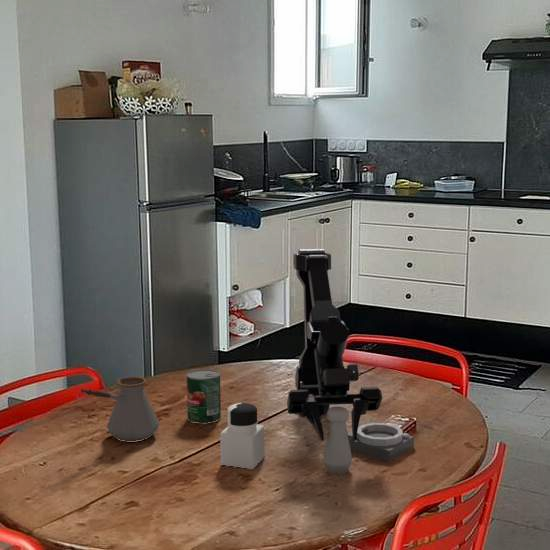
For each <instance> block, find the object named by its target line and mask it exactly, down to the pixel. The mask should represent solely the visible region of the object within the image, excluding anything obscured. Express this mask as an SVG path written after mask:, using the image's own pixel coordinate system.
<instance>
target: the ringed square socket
mask: <svg viewBox="0 0 550 550" xmlns="http://www.w3.org/2000/svg"><path fill="white" fill-rule="evenodd" d="M347 434H348V439H349V445H350V450H351V453H355V454H358V455H363V456H366V457H369V458H372V459H377V460H380V461H383V462H387V463H391V462H392V461H394V460H395V459H397V458H400V457H401V456H403V455H405V454H406V453H407V452H410V451H411V450H413V449H414V448H415V436H414V435H410V434H409V433H407V432H405V433H403V429H402V428H400V427H399V426H398V425H394V424H389V423H381V422H374V421H370V420H369V421H367V422H366V423H364V424H362V425H360V426H358V431H357V436H356V439H355V440H354V439H353V435H352V430H350V431H347Z"/></svg>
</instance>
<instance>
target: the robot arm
mask: <svg viewBox="0 0 550 550" xmlns="http://www.w3.org/2000/svg"><path fill="white" fill-rule="evenodd" d="M293 268H294V270H296V278H298V281H299V282H300V284H301V285H302V286H303V314H304V315H303V316H304V317H303V318H304V346H305V347H304V348H303V351H302V353H301V354H300V357H299V359H298V365H297V366H296V371H295V376H294V378H295V379H294V382H295V388H296V389H291V390H290V391H288V394H287V401H286V408H287V413H288V414H289V415H294V414H296V415H297V414H298V415H301V417H303V418H306V419H307V421H309V423H310V424H311V425H312V427H313V429H314V431H315V432H316V433H317V435H318V437H319V439H320V441H321V442H324V439H325V436H324V435H325V434H324V428H323V425H322V420H321V419H322V418H321V417H324V416H325V415H326V416H327V411H328V409H330V406H331V405H332V406H334V405H352V410H351V416H350V417H351V431H352V435H353V439H354V440H355V439H356V436H357V431H358V427H360V426H359V425H360V420H361V416H363V415H366V414H367V412H375V411H378V410H379V408H380V406H381V404H382V400H383V393H382V390H381V389H380V388H379V387H378V386H372V387H371V386H367V387H360V390H359V393H350V394H349V393H348V392H349V391H350V388H351V387H350V385H351V382H357V381H358V380H359V379H360V378H359V377H360V375H359V373H360V372H359V368H358V364H357V363H355V364H354V363H353V364H348V365H347V367H345V365H344V358H343V355H344V353H345V350H346V347H347V342H348V338H349V336H350V329H349V328H348V327H347V326H346V325H347V324H345V322H344V320H342V319H341V314H340V310H339V309H338V308H336V306H335V305H334V304H333V301H332V295H331V286H330V280H329V279H330V278H329V273H328V272H329V271H331V270H332V254H331V253H329V252H326V251H325V249H324V248H298V251H297V253H293Z"/></svg>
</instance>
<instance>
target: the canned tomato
mask: <svg viewBox="0 0 550 550" xmlns="http://www.w3.org/2000/svg"><path fill="white" fill-rule="evenodd" d="M186 394H187V395H186V396H187V397H186V399H187V401H186V402H187V408H186V410H187V418H188V419H189V420H190V421H192V422H199V423H208V422H213V421H216V420H218V419H220V417H221V414H222V413H221V412H222V410H221V409H222V407H221V404H222V403H221V399H222V398H221V394H222V393H221V372H220V371H218V370H215V369H211V368H210V369H209V368H202V369H199V368H198V369H195V370H191V371H188V372H187V373H186ZM221 418H222V417H221ZM188 419H187V420H188ZM220 420H221V419H220Z"/></svg>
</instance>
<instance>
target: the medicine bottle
mask: <svg viewBox="0 0 550 550" xmlns="http://www.w3.org/2000/svg"><path fill="white" fill-rule="evenodd" d="M219 435H220V437H219V439H220V441H219V442H220V446H219V447H220V465H221V466H222V465H226V466H225V467H229V466H234V467H233V468H236V467H241V468H240V469H243V468H247V469H246V470H251V469H253V470H254V469H255V468H256V467H257V465H259V464H260V463H261V462H262V460H263V459H264V458H265V457H266V455H265V453H266V451H265V447H266V446H265V442H266V441H265V437H266V436H265V425H264V424H258V408H257V407H256V405H254V404H251V403H248V402H238V403H234V404H231V405H229V406H228V407H227V426H226V427H225V429H223V430H221V432H220V433H219ZM258 463H259V464H258Z"/></svg>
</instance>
